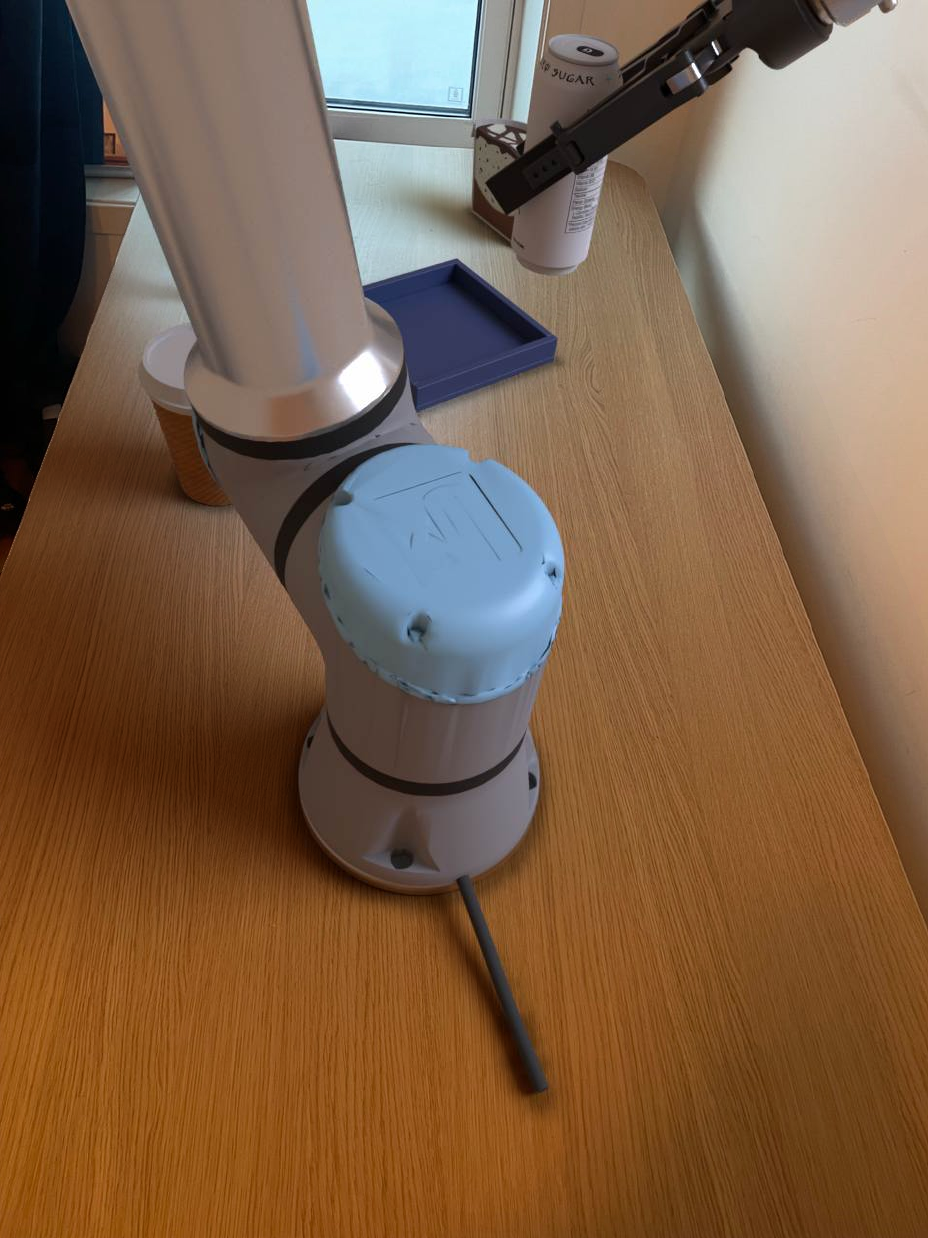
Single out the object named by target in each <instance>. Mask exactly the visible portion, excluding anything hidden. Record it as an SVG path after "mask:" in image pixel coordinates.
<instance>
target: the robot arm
mask: <svg viewBox="0 0 928 1238" xmlns="http://www.w3.org/2000/svg"><path fill="white" fill-rule="evenodd" d="M65 3H66V6H67V8H68V11H69V14H70V15H71V16H70V17H71V19H72V22H73V24H74V26H75V29H76V31H77V34H78V37H79V39H80V42H81V43H82V47H83V50H84V52H85V54H86V58H87V60H88V62H89V65H90V68H91V70H92V73H93V76H94V78H95V80H96V83H97V86H98V89H99V90H100V93H101V96H102V98H103V101H104V104H105V106H106V108H107V111H108V114H109V116H110V119H111V122H112V125H113V126H114V129H115V133H116V135H117V137H118V140H119V142H120V145H121V147H122V150H123V152H124V155H125V158H126V160H127V163H128V166H129V169H130V170H131V173H132V176H133V178H134V181H135V183H136V186H137V188H138V191H139V194H140V196H141V199H142V202H143V204H144V207H145V209H146V212H147V214H148V217H149V219H150V222H151V225H152V228H153V230H154V233H155V235H156V238H157V240H158V243H159V245H160V248H161V251H162V253H163V256H164V258H165V261H166V263H167V266H168V268H169V271H170V273H171V277H172V278H173V281H174V284H175V286H176V289H177V291H178V295H179V297H180V299H181V302H182V304H183V307H184V309H185V310H184V311H185V313H186V315H187V317H188V320H189V323H191V325H192V328H193V330H194V333H195V335H196V338H197V340H196V341H195V343H194V344H193V346H192V348H191V350H190V352H189V354H188V357H187V359H186V362H185V368H184V387H185V391H186V394H187V397H188V399H189V402H190V404H191V412H192V422H193V427H194V431H195V435H196V438H197V441H198V447H199V450H200V453H201V456H202V458H203V460H204V462H205V464H206V466H207V468H208V470H209V472H210V474H211V475H212V477H213V478H214V480H215V481H216V483H217V484H218V485H219V487H220V488H221V489H222V490H223V491H224V492H225V494H226V495H227V496H228V498H229V499H230V501H231V503H232V504H231V505H232V506H233V508H234V509H235V511H236V513H237V514H238V515H239V517H240V519H241V521H242V522H243V524H244V526H245V527H246V528H247V530H248V532H249V533H250V535H251V537H252V538H253V540H254V541H255V543H256V545H257V546H258V548H259V550H260V551H261V553H262V554H263V556H264V558H265V559H266V561H267V562H268V564H269V566H270V567H271V569H272V570H273V572H274V573H275V575H276V577H277V578H278V581H279V582H280V584H281V586H282V587H283V588H284V590H285V591H286V593H287V596H289V598H290V601H291V602H292V604H293V605H294V607H295V609H296V610H297V612H298V614H299V615H300V617H301V619H302V620H303V622H304V624H305V626H306V627H307V628H308V630H309V631H310V634H311V635H312V637H313V638H314V640H315V642H316V644H317V646H318V648H319V651H320V653H321V656H322V660H323V664H324V674H325V675H324V676H325V702H324V704H323V706H322V708H321V709H320V712H319V714H318V715H317V716H316V718H315V720H314V721H313V723H312V724H311V727H310V729H309V731H308V732H307V735H306V738H305V740H304V742H303V746H302V750H301V755H300V760H299V766H298V793H299V802H300V808H301V811H302V815H303V819H304V822H305V824H306V827H307V828H308V831H309V833H310V835H311V836H312V838H313V839H314V841H315V843H316V844H317V845H318V847H319V848H320V849H321V850H322V852H323V853H324V854H325V855H326V856H327V857H328V858H329V859H330V860H331V861H332V863H334V864H335V865H336V866H337V867H338V868H340V869H341V870H343V871H344V872H345V873H347V874H348V875H350V876H351V877H353V878H355V879H356V880H358V881H360V882H363V883H364V884H368V885H369V886H371V887H375V888H377V889H381V890H383V891H386V892H392V893H395V894H403V895H411V896H412V895H413V896H427V895H439V894H445V893H450V892H454V891H458V890H459V892H460V895H461V898H462V901H463V903H464V906H465V909H466V912H467V915H468V917H469V920H470V923H471V926H472V929H473V931H474V934H475V937H476V940H477V942H478V946H479V948H480V951H481V953H482V957H483V960H484V962H485V965H486V968H487V970H488V971H487V972H488V974H489V977H490V980H491V983H492V986H493V988H494V990H495V994H496V996H497V999H498V1001H499V1005H500V1007H501V1009H502V1012H503V1015H504V1017H505V1020H506V1023H507V1026H508V1028H509V1030H510V1033H511V1036H512V1039H513V1041H514V1044H515V1046H516V1049H517V1052H518V1053H519V1056H520V1059H521V1061H522V1064H523V1067H524V1069H525V1071H526V1074H527V1077H528V1079H529V1082H530V1085H531V1088H532V1090H533V1092H534V1093H535V1095H537V1094H540V1093H543V1092H545V1091H547V1090H548V1089H550V1086H549V1084H548V1081H547V1078H546V1076H545V1073H544V1071H543V1069H542V1067H541V1064H540V1061H539V1059H538V1057H537V1054H536V1051H535V1049H534V1046H533V1044H532V1041H531V1040H530V1037H529V1034H528V1032H527V1029H526V1027H525V1024H524V1022H523V1019H522V1016H521V1014H520V1010H519V1009H518V1006H517V1003H516V1000H515V998H514V995H513V993H512V990H511V987H510V985H509V982H508V979H507V976H506V974H505V970H504V968H503V966H502V962H501V959H500V957H499V954H498V951H497V949H496V946H495V942H494V940H493V938H492V937H493V936H492V934H491V932H490V929H489V927H488V923H487V921H486V918H485V916H484V913H483V910H482V908H481V904H480V902H479V900H478V896H477V894H476V891H475V888H474V886H473V885H474V884H477V883H478V882H480V881H483V880H484V879H486V878H487V877H489V876H491V875H492V874H494V873H495V872H496V871H497V870H499V869H500V868H501V867H502V866H503V865H505V864H506V863H507V862H508V861H509V860H510V859H511V858H512V857H513V856H514V854H515V853H516V852H517V850H518V849H519V848H520V847H521V845H522V844H523V842H524V840H525V839H526V837H527V834H528V833H529V830H530V828H531V825H532V823H533V819H534V817H535V813H536V810H537V805H538V802H539V795H540V778H541V777H540V764H539V758H538V757H539V756H538V753H537V749H536V745H535V743H534V742H535V741H534V740H533V735H532V732H531V729H530V725H529V724H530V720H531V716H532V713H533V710H534V706H535V704H536V703H535V702H536V699H537V696H538V692H539V689H540V686H541V683H542V679H543V675H544V672H545V669H546V666H547V663H548V659H549V655H550V652H551V649H552V647H553V644H554V642H555V641H556V640H555V639H556V635H557V633H558V626H559V624H560V622H561V617H562V608H563V607H562V606H563V595H562V592H563V587H564V586H563V585H564V578H565V555H564V549H563V544H562V539H561V536H560V532H559V529H558V527H557V525H556V522H555V520H554V518H553V516H552V514H551V513H550V511H549V509H548V508H547V506H546V504H545V503H544V502H543V500H542V499H541V498H540V496H539V495H538V494H537V493H536V491H535V490H534V489H533V488H532V487H531V486H530V485H529V484H528V483H527V482H526V481H525V480H524V479H523V478H521V476H519V475H517V474H516V473H515V472H513V471H512V470H511V469H509V468H508V467H506V466H505V465H503V464H501V463H499V462H498V461H496V460H494V459H492V458H489V457H486V458H484V459H483V460H481V461H480V462H479V461H478V462H477V461H473V460H472V459H470V452H469V450H468V449H465V448H462V447H459V446H453V445H447V444H439V443H438V442H437V441H436V439H435V438H434V437H433V436H432V435H431V434H430V432H429V431H428V430H427V429H426V428H425V426H424V425H423V423H422V421H421V419H420V417H419V415H418V412H416V410H415V407H414V404H413V400H412V394H411V388H410V382H409V376H408V369H407V364H406V358H405V353H404V346H403V341H402V336H401V334H400V331H399V328H398V326H397V324H396V323H395V321H394V319H393V318H392V317H391V316H390V315H389V314H388V313H387V312H386V311H385V310H384V309H383V308H382V307H380V306H379V305H378V304H376V303H375V302H373V301H371V300H370V299H368V298H366V297H364V292H363V287H362V286H363V282H362V277H361V273H360V267H359V266H360V265H359V262H358V256H357V251H356V247H355V241H354V237H353V231H352V227H351V220H350V217H349V216H350V215H349V211H348V205H347V201H346V196H345V191H344V185H343V180H342V175H341V171H340V166H339V165H340V164H339V160H338V155H337V150H336V145H335V140H334V135H333V130H332V125H331V120H330V115H329V110H328V109H329V108H328V104H327V99H326V94H325V88H324V84H323V78H322V74H321V68H320V63H319V58H318V53H317V48H316V44H315V38H314V33H313V29H312V28H313V27H312V23H311V17H310V12H309V8H308V7H309V6H308V3H307V0H65ZM898 3H899V2H898V0H704V1H702V2H700V3H699V4H698V5H696V7H694V9H693V10H692V11H690V13H689V14H688V15H687V16H686V18H685V19H683V20H682V21H680V22H678V23H677V24H676V25H674V26H673V27H671V28H670V29H668V30H667V31H666V32H665V33H664V34H663V35H662V36H661V37H660V38H659V39H657V40H655V42H653V43H652V44H650V45H649V46H648V47H646V48H645V49H644V50H642V51H641V52H639V53H637V55H635V56H634V57H632V58H631V59H630V60H628V61H627V62H625V63H624V64H622V65H621V66H619V67H620V70H621V74H622V78H623V85H622V86H621V87H619V88H618V89H617V90H615V91H614V92H613V93H611V94H610V95H609V96H607V97H606V98H605V99H604V100H602V101H601V102H600V103H598V104H597V105H596V106H594V107H593V108H592V109H590V110H589V111H588V112H587V113H585V114H584V115H583V116H581V117H580V118H579V119H577V120H576V121H575V122H573V123H572V124H571V125H569V126H568V127H566V128H565V127H564V128H562V127H561V125H560V123H559V122H558V120H557V121H555V122H554V123H553V124H552V125H551V126H550V127H549V128H550V129H551V131H552V132H553V133H552V134H551V135H549V136H548V137H546V138H545V139H544V140H542V141H541V142H539V143H538V144H537V145H535V146H534V147H532V148H531V149H530V150H528V151H527V152H525V153H524V147H525V140H523V141H522V142H521V143H519V144H518V145H517V146H516V149H517V151H518V153H519V154H520V157H518V158H517V159H516V160H514V161H513V162H511V163H510V164H509V165H507V166H506V167H504V168H503V169H502V170H500V171H499V172H497V173H496V174H495V175H493V176H492V177H490V178H489V179H488V180H487V181H486V182H485V184H486V185H487V187H488V189H489V190H490V192H491V193H492V195H493V196H494V198H495V199H496V201H497V202H498V204H499V205H500V207H501V208H502V210H503V211H504V213H505V214H506V216H507V215H508V214H510V213H511V212H513V211H514V210H516V209H517V208H519V207H520V206H522V205H523V204H525V203H526V202H528V201H529V200H531V199H532V198H534V197H535V196H537V195H538V194H540V193H541V192H543V191H544V190H546V189H547V188H549V187H550V186H552V185H553V184H555V183H556V182H558V181H559V180H561V179H562V178H564V177H565V176H567V175H568V174H570V173H571V172H574V174H575V175H579V174H580V173H581V174H582V173H584V172H585V171H586V170H587V168H589V167H590V166H592V165H593V164H594V163H596V162H597V161H599V160H600V159H602V158H603V157H605V156H606V155H608V156H609V154H611V153H612V152H614V151H615V150H616V149H618V148H621V146H622V145H624V144H626V143H627V142H628V141H630V140H631V139H633V138H635V137H636V136H637V135H639V134H641V133H642V132H643V131H645V130H646V129H648V128H649V127H651V126H652V125H653V124H655V123H658V121H659V120H661V119H662V118H664V117H666V116H667V115H668V114H670V113H672V112H673V111H674V110H676V109H678V108H679V107H681V106H683V105H685V104H687V103H688V102H689V101H691V100H693V99H695V98H700V97H701V96H703V95H704V94H705V93H706V90H708V88H709V86H713V85H715V84H716V83H718V82H719V81H721V80H722V79H723V78H725V77H726V76H728V74H730V73H731V72H732V71H733V69H734V68H733V66H732V64H733V63H734V62H736V61H737V60H738V59H739V58H740V57H741V56H740V54H741V52H742V51H744V50H746V49H750V50H752V51H753V52H755V53H756V54H757V56H758V59H759V60H760V61H761V63H763V65H765V66H766V67H767V68H769V69H770V70H775V71H781V70H783V69H785V68H786V67H788V66H790V65H792V64H793V63H795V62H796V61H798V60H799V59H801V58H802V57H805V55H807V54H808V53H810V52H812V51H813V50H815V49H816V48H818V47H819V46H821V45H823V44H824V43H826V42H827V41H828V40H829V39H830V36H831V34H832V33H833V30H834V24H835V25H836V26H839V27H842V28H847V27H849V26H850V25H852V24H854V23H855V22H857V21H858V20H860V19H861V18H863V17H865V16H866V15H868V14H869V13H871V11H872V9H873V8H875V7H876V6H878V8H879V11H880V12H881V13H882V14H889V13H890V12H892V11H894V10H895V9H896V7H897V6H898Z"/></svg>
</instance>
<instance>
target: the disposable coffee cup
mask: <svg viewBox="0 0 928 1238" xmlns="http://www.w3.org/2000/svg"><path fill="white" fill-rule="evenodd" d="M196 340H197V338H196V335H195V333H194V330H193V328H192V325H191V322H186V323H183V324H178V325H173V326H172V327H171V326H170V327H169V328H166V329H164V330H161V331H160V332H159V333H157V334H156V335H154V336H153V337H152V338H151V339H150V340H149V341H148V342H147V344H146V345H145V346H144V348H143V351H142V356H141V360H140V362H139V365H138V369H137V376H138V377H137V378H138V381H139V384H140V386H141V388H142V389H143V390H144V391H145V393H146V394H147V396H148V397H149V398H150V400H151V402H152V406H153V409H154V412H155V414H156V417H157V421H158V423H159V425H160V428H161V432H162V434H163V437H164V440H165V442H166V446H167V449H168V452H169V454H170V457H171V460H172V463H173V465H174V469H175V471H176V475H177V477H178V481H179V484H180V486H181V489H182V491H183V492H184V494H185V495H186V496H188V497H189V498H190V499H191V500H193V501H195V502H197V503H200V504H203V505H208V506H229V505H233V504H232V503H231V501H230V499H229V498H228V496H227V495H226V494H225V492H224V491H223V490H222V489H221V488H220V487H219V485H218V484H217V483H216V481H215V480H214V478H213V477H212V475H211V474H210V472H209V470H208V468H207V466H206V464H205V462H204V460H203V458H202V456H201V453H200V450H199V447H198V441H197V438H196V435H195V431H194V427H193V422H192V412H191V404H190V402H189V399H188V397H187V394H186V391H185V387H184V368H185V362H186V359H187V357H188V354H189V352H190V350H191V348H192V346H193V344H194V343H195V341H196Z"/></svg>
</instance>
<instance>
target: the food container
mask: <svg viewBox="0 0 928 1238" xmlns="http://www.w3.org/2000/svg"><path fill="white" fill-rule="evenodd" d="M527 125H528V122H527V123H526V122H523V121H519V120H514V119H508V118H499V117H486V118H485V117H484V118H483V117H482V118H476V119H474V124H472V129H471V130H472V131H471V134H470V137H471V138H473V158H472V179H471V180H472V181H471V203H470V204H471V205H470V206H471V208H470V212H471V213H472V214H474V215H475V216H476V217H477V218H479V219H480V220H481V221H482V222H483V223H485V224H486V225H488V226H489V227H490V229H493V230H494V231H495V232H496V233H497V234H499V235H500V236H501V237H502V238H504V239H505V240H506V241H507V242H509V243H510V244H511V239H512V232H513V225H514V218H515V211H516V210H514V211H513V212H511V213H510V214H508V215H507V216H506V214H505V213H504V211H503V210H502V208H501V207H500V205H499V204H498V202H497V201H496V199H495V198H494V196H493V195H492V193H491V192H490V190H489V189H488V187H487V185H486V184H485V182H486V181H487V180H488V179H489V178H490V177H492V176H493V175H495V174H496V173H497V172H499V171H500V170H502V169H503V168H504V167H506V166H507V165H509V164H510V163H511V162H513V161H514V160H516V159H517V158H518V157H520V154H519V153H518V151H517V149H516V146H517V145H518V144H519V143H521V142H522V141H523V140H525V139H526V132H527Z"/></svg>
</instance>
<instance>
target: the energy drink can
mask: <svg viewBox="0 0 928 1238" xmlns="http://www.w3.org/2000/svg"><path fill="white" fill-rule="evenodd" d="M620 56H621V51H620V49H619V48H618V47H617V46H616V45H615V44H613V43H612V42H609V41H607V40H605V39H602V38H600V37H597V36H593V35H592V36H591V35H589V34H588V35H586V34H581V33H580V34H578V33H565V34H559V35H555V36H552V37H550V39H549V40H548V42H547V49H546V52H545V53H544V55H542V58H541V59H540V60H539V62H538V63H537V64H536V65H535V68H534V69H535V70H534V77H533V83H532V89H531V90H532V91H531V97H530V105H529V112H528V119H527V124H528V125H527V132H526V139H525V147H524V153H525V152H527V151H528V150H530V149H531V148H532V147H534V146H535V145H537V144H538V143H539V142H541V141H542V140H544V139H545V138H546V137H548V136H549V135H551V134H552V133H553V132H552V131H551V129H550V128H549V127H550V126H551V125H552V124H553V123H554V122H555V121H557V120H558V122H559V123H560V125H561V127H562V128H564V127H565V128H566V127H568V126H569V125H571V124H572V123H573V122H575V121H576V120H577V119H579V118H580V117H581V116H583V115H584V114H585V113H587V112H588V111H589V110H590V109H592V108H593V107H594V106H596V105H597V104H598V103H600V102H601V101H602V100H604V99H605V98H606V97H607V96H609V95H610V94H611V93H613V92H614V91H615V90H617V89H618V88H619V87H621V86H622V85H623V78H622V74H621V70H620V67H621V66H620V63H619V58H620ZM608 159H609V154H608V155H606V156H605V157H603V158H602V159H600V160H599V161H597V162H596V163H594V164H593V165H592V166H590V167H589V168H587V170H586V171H585V172H584V173H582V174H581V173H580V174H579V175H575V174H574V172H571V173H570V174H568V175H567V176H565V177H564V178H562V179H561V180H559V181H558V182H556V183H555V184H553V185H552V186H550V187H549V188H547V189H546V190H544V191H543V192H541V193H540V194H538V195H537V196H535V197H534V198H532V199H531V200H529V201H528V202H526V203H525V204H523V205H522V206H520V207H519V208H517V209H516V211H515V218H514V225H513V232H512V239H511V243H510V246H511V249H512V250H513V252H514V253H515V258H516V261H517V262H518V263H519V264H520V265H521V266H522V267H523V268H525V269H526V270H528V271H530V272H532V273H536V274H539V275H543V276H552V277H557V276H565V275H568V274H571V273H572V272H574V271H575V270H577V268H578V267H579V264H581V263H583V262H584V261H585V260H586V259H587V257H588V254H589V249H590V245H591V240H592V235H593V231H594V226H595V220H596V216H597V215H596V214H597V211H598V206H599V201H600V196H601V192H602V187H603V183H604V177H605V173H606V168H607V164H608V163H607V162H608Z"/></svg>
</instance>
